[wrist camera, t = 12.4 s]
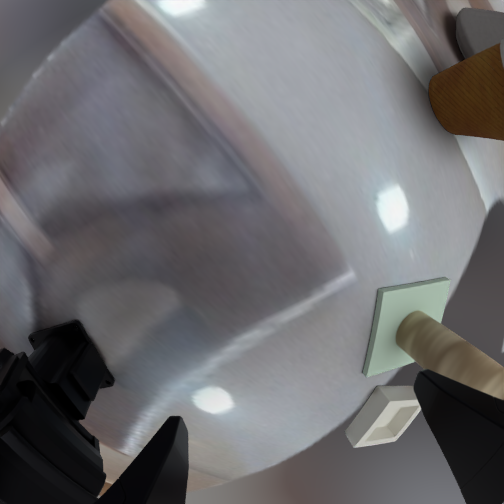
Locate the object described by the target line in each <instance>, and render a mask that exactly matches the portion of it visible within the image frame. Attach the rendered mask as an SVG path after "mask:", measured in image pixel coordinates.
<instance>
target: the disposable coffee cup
mask: <svg viewBox="0 0 504 504" xmlns="http://www.w3.org/2000/svg"><path fill="white" fill-rule="evenodd" d="M429 97H430V102H431V105H432V108H433V111H434V113H435V115H436V117H437V119H438V120H439V122H440V123H441V125H442V126H443V127H444V128H445V129H446V130H447V131H448V132H450V133H452V134H455V135H465V136H474V137H482V138H490V139H496V140H503V141H504V39H502V40H501V42H500V43H498V44H496V45H494V46H491V47H490V48H487V49H485V50H484V51H481V52H479V53H477V54H475V55H473V56H471V57H469V58H467V59H465V60H463V61H462V62H459V63H458V64H455V65H454V66H451V67H450V68H448V69H446V70H444V71H442V72H440V73H439V74H437V75H434V76H433V77H432V79H431V80H430V83H429Z"/></svg>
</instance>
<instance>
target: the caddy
mask: <svg viewBox="0 0 504 504" xmlns="http://www.w3.org/2000/svg"><path fill="white" fill-rule="evenodd" d="M413 387H414V386H377V387H376V388H375V390H374V391H373V393H372V394H371V396H370V397H369V399H368V400H367V402H366V403H365V405H364V406H363V407H362V409H361V410H360V412H359V413H358V414H357V416H356V417H355V418H354V420H353V421H352V422H351V424H350V425H349V426H348V428H347V429H346V430H345V434H346V436H347V437H348V439H349V441H350V443H351V444H352V446H353V448H355V447H363V446H370V445H377V444H383V443H388V442H393V441H396V440H397V439H398V438H399V437H400V435H401V434H402V433H403V432H404V431H405V429H406V428H407V427H408V426H409V424H410V423H411V422H412V421H413V419H414V418H415V417H416V415H417V414H418V413H419V412H420V410H421V407H420V405H419V402H418V400H417V397H416V395H415V393H414V389H413Z"/></svg>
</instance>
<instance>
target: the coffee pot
mask: <svg viewBox="0 0 504 504" xmlns="http://www.w3.org/2000/svg"><path fill="white" fill-rule="evenodd" d="M456 39H457V42H458V45H459V48H460V50H461V52H462V54H463V56H464V58H465V59H467V58H469V57H471V56H473V55H475V54H477V53H479V52H481V51H484V50H485V49H487V48H490V47H491V46H494V45H496V44H498V43H500V42H501V40H502V39H504V13H502V12H497V11H490V10H483V9H474V8H463V9H462V10H461V11H460V12H459V13H458V15H457V20H456Z"/></svg>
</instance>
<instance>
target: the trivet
mask: <svg viewBox="0 0 504 504" xmlns="http://www.w3.org/2000/svg"><path fill="white" fill-rule="evenodd" d="M449 285H450V279H448V278H446V277H444V278H439V279H433V280H428V281H423V282H417V283H411V284H405V285H399V286H393V287H387V288H381V289H378V296H377V303H376V309H375V315H374V321H373V327H372V332H371V337H370V342H369V347H368V352H367V356H366V361H365V365H364V369H363V374H364V375H365V377H366V378H367V377H370V376H373V375H377V374H380V373H383V372H386V371H389V370H393V369H396V368H399V367H401V366H404V365H407V364H410V363H413V362H415V360H414V359H412V358H411V357H410V356H409V355H408V354H407V353H406V352H405V351H403V350H402V349H401V348H400V347H399V346H398V345H397V343H396V332H397V330H398V327H399V325H400V324H401V322H402V321H403V320H404V318H405V317H406V316H408V315H409V314H410V313H412V312H414V311H422V312H424V313H425V314H427V315H428V316H430V317H431V318H433V319H434V320H436V321H437V322H439V323H440V324H441V320H442V316H443V312H444V308H445V304H446V299H447V295H448V290H449Z"/></svg>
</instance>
